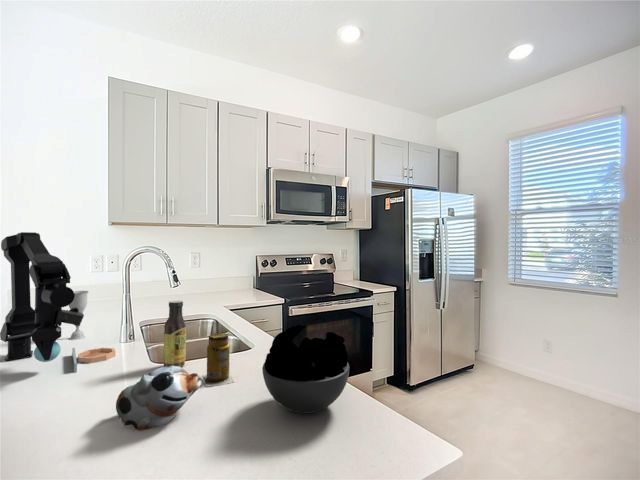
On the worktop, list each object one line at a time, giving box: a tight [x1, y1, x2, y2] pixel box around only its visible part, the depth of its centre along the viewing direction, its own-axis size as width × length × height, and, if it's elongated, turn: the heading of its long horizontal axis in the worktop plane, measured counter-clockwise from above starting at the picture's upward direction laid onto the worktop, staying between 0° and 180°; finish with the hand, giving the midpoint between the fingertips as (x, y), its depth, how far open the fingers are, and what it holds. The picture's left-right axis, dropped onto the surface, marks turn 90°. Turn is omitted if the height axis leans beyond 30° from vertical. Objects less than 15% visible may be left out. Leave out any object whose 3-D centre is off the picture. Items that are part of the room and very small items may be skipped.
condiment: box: [202, 332, 235, 387], centre depth 92 cm, size 7×8×12 cm
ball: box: [33, 340, 62, 363], centre depth 96 cm, size 6×6×6 cm
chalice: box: [68, 290, 89, 340], centre depth 130 cm, size 7×7×18 cm
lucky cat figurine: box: [115, 366, 204, 431], centre depth 72 cm, size 15×12×14 cm
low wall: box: [71, 347, 78, 373], centre depth 103 cm, size 18×1×2 cm, turn 38°
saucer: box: [77, 347, 116, 364], centre depth 109 cm, size 10×10×2 cm
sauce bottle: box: [162, 300, 187, 368], centre depth 101 cm, size 7×6×20 cm
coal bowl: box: [262, 324, 350, 414], centre depth 76 cm, size 20×20×19 cm
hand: (47, 356), depth 96 cm, fingers closed on ball, 6 cm apart
